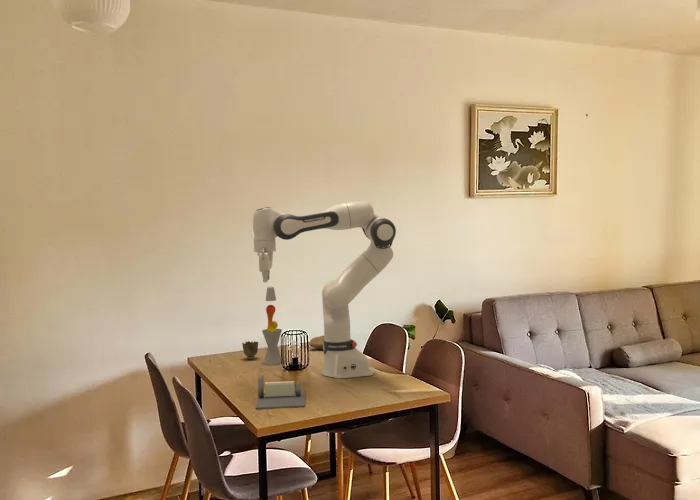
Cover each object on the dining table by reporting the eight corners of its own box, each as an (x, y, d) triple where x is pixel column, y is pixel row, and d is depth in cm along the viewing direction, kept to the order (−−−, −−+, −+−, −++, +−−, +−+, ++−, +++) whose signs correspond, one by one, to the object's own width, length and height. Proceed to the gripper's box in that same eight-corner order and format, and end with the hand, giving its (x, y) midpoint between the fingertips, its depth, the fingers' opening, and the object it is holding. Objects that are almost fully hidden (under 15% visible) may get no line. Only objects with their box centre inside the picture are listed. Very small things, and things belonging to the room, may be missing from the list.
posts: (301, 396, 231) (300, 375, 230) (301, 398, 229) (300, 376, 228) (258, 398, 230) (258, 377, 229) (258, 400, 228) (257, 378, 227)
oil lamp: (305, 349, 313) (304, 333, 313) (329, 345, 322) (329, 329, 322) (317, 353, 304) (317, 336, 304) (342, 348, 313) (341, 332, 313)
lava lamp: (274, 365, 281) (271, 288, 279) (259, 363, 285) (256, 287, 283) (286, 361, 288) (284, 286, 286) (271, 359, 293) (268, 285, 291)
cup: (250, 356, 300) (250, 340, 300) (262, 358, 296) (261, 341, 295) (239, 359, 294) (239, 343, 294) (250, 361, 290) (250, 344, 289)
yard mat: (304, 392, 236) (304, 391, 236) (304, 406, 218) (304, 405, 218) (259, 394, 235) (259, 393, 235) (255, 409, 217) (255, 407, 217)
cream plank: (265, 396, 228) (265, 383, 228) (265, 395, 230) (265, 382, 229) (294, 395, 229) (293, 382, 229) (294, 394, 230) (294, 381, 230)
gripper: (270, 248, 243) (272, 283, 244) (274, 245, 263) (275, 278, 264) (254, 248, 243) (256, 284, 243) (259, 246, 263) (260, 279, 264)
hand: (266, 281), depth 254 cm, fingers open, 8 cm apart
